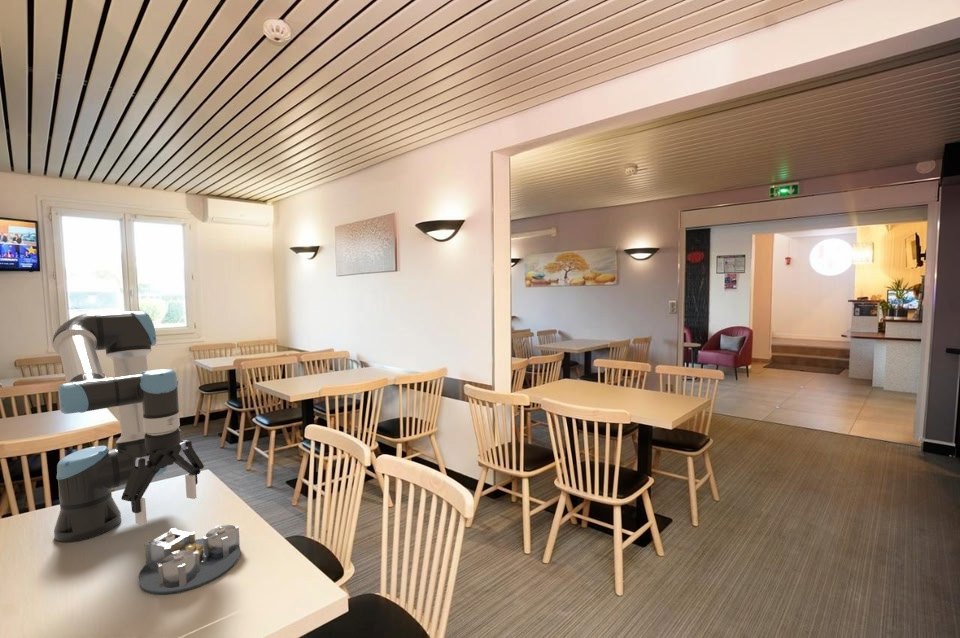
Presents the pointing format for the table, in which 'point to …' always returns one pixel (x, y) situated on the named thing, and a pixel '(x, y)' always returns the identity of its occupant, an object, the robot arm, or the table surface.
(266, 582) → the table surface
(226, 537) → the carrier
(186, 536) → the grey square frame
